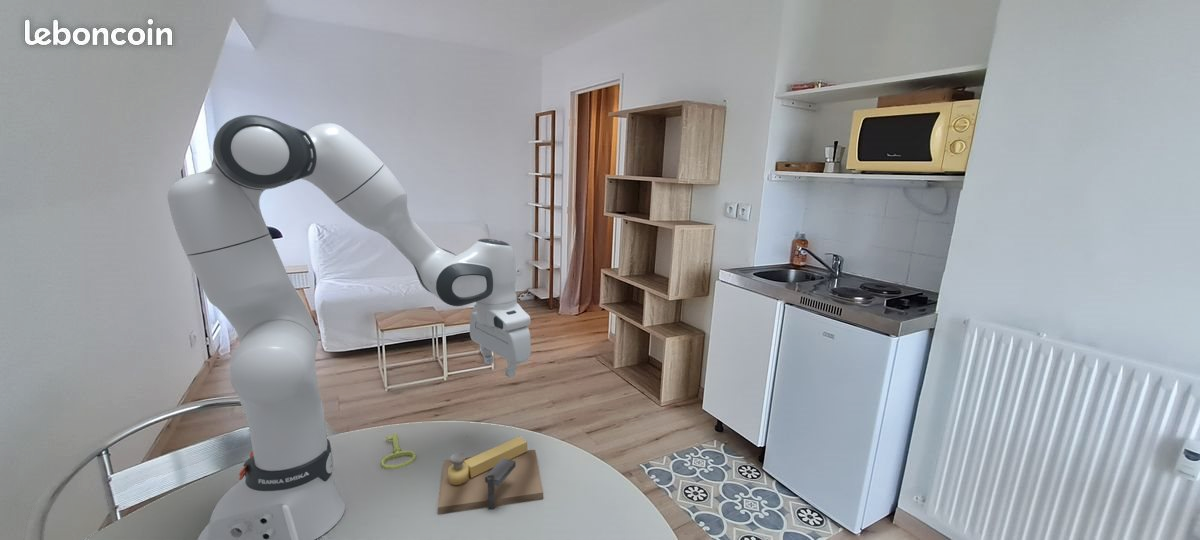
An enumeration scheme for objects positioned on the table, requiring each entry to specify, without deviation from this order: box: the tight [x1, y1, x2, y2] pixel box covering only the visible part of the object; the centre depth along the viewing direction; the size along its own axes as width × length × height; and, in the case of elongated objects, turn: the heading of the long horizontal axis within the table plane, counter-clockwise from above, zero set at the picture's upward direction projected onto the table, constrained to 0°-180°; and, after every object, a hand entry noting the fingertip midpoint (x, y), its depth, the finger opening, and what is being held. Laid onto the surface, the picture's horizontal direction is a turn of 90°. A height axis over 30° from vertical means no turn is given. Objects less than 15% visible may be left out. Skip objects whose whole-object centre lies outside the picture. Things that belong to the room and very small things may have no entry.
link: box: [448, 435, 528, 485], centre depth 102 cm, size 18×4×2 cm, turn 134°
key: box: [380, 432, 417, 470], centre depth 108 cm, size 7×12×2 cm, turn 46°
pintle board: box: [437, 449, 544, 515], centre depth 98 cm, size 20×16×7 cm
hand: (499, 369), depth 107 cm, fingers open, 8 cm apart
